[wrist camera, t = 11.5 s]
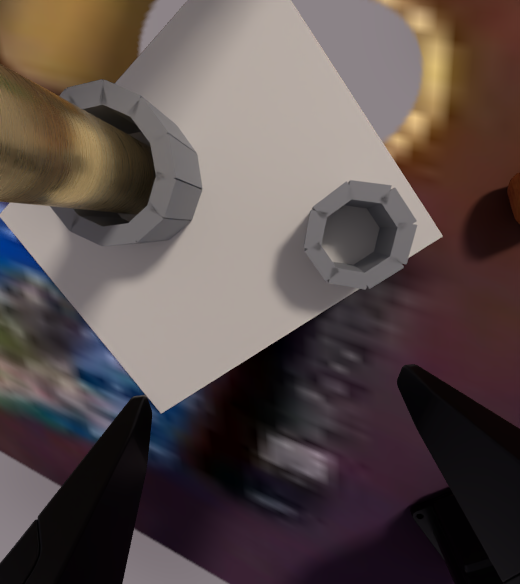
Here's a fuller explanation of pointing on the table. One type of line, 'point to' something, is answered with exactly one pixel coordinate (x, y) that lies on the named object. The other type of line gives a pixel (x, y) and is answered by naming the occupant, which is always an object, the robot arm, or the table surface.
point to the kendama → (515, 196)
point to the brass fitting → (67, 154)
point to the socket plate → (228, 199)
